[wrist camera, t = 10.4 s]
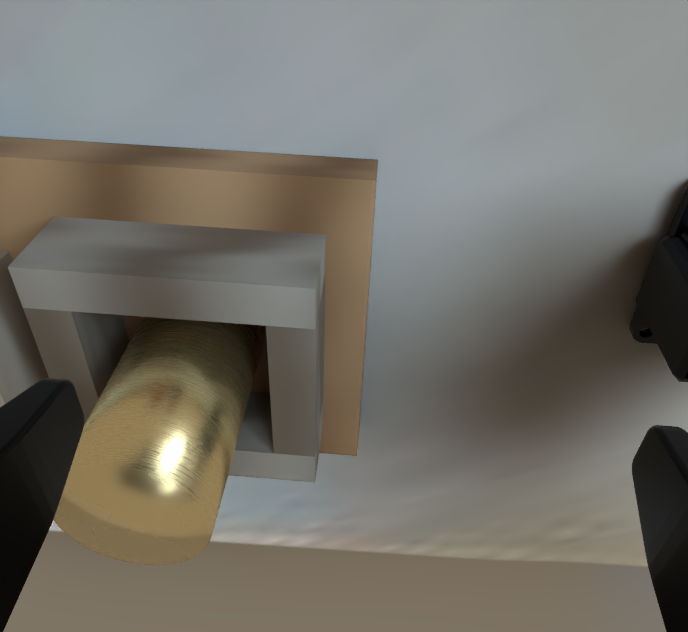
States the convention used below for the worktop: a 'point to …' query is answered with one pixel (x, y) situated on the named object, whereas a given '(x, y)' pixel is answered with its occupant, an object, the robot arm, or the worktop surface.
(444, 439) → the worktop surface
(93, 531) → the cylinder
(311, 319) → the jig
